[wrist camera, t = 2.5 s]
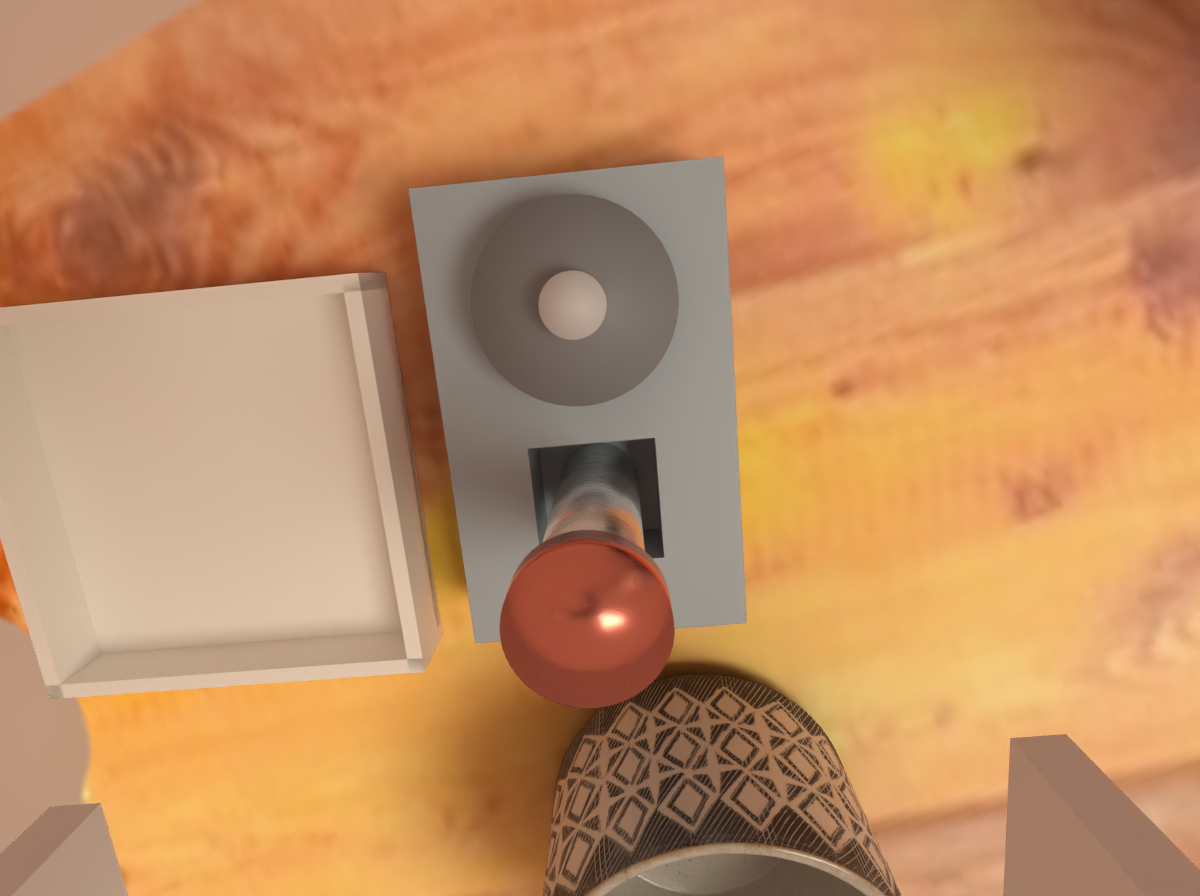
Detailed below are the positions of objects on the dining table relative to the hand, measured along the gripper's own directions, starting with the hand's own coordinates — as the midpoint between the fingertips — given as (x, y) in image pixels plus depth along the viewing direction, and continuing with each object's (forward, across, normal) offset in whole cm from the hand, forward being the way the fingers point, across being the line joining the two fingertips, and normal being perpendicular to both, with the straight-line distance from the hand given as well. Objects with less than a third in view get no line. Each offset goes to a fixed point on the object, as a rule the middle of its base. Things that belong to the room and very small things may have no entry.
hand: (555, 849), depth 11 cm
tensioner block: (+20, 0, +3) cm, 20 cm away
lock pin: (+18, 0, 0) cm, 19 cm away
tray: (+20, -15, +1) cm, 24 cm away
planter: (+20, +3, -15) cm, 25 cm away
